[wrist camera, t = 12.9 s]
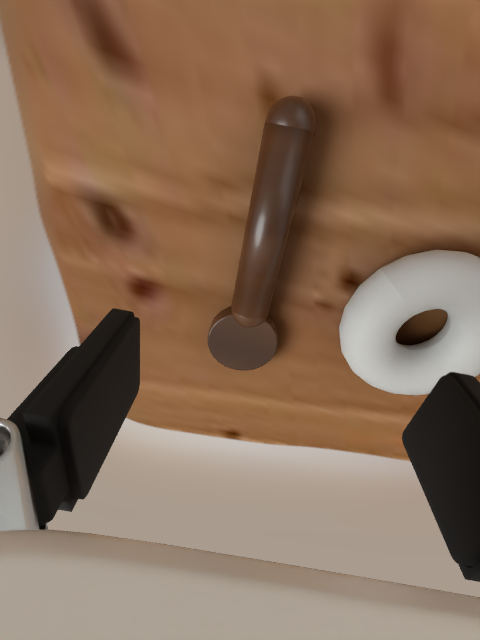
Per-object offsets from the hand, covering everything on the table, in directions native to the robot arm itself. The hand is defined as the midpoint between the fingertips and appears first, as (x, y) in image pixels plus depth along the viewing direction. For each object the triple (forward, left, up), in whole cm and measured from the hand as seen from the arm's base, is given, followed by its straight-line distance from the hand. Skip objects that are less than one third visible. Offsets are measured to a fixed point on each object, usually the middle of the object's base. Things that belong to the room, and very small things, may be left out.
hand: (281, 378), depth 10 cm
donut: (-10, +2, -11) cm, 15 cm away
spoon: (+1, +1, -11) cm, 11 cm away
